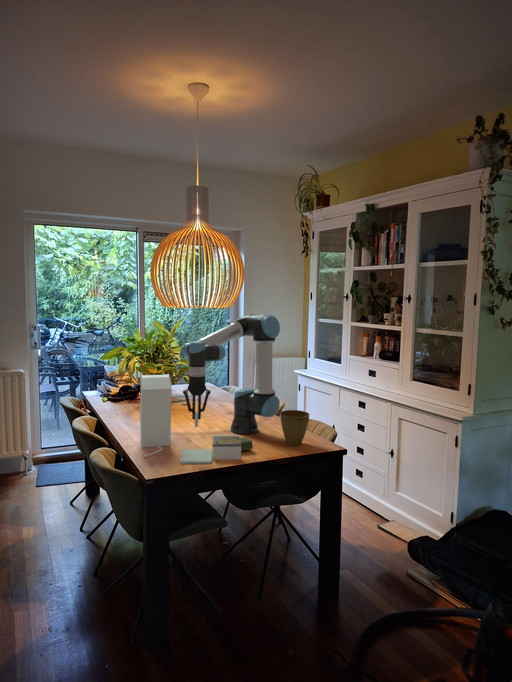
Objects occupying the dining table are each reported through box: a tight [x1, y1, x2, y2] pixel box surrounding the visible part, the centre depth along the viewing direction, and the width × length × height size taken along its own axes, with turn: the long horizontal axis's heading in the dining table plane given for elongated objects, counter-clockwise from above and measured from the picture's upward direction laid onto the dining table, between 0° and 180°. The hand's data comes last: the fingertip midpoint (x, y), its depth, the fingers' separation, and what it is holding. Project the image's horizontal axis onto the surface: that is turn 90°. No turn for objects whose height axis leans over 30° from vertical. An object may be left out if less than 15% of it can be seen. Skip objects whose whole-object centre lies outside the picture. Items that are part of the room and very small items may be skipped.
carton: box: [216, 437, 254, 452], centre depth 241 cm, size 8×16×4 cm, turn 117°
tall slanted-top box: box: [139, 373, 172, 458], centre depth 244 cm, size 14×35×35 cm, turn 16°
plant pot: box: [279, 409, 310, 447], centre depth 254 cm, size 15×15×16 cm
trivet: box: [179, 448, 213, 465], centre depth 231 cm, size 18×14×1 cm
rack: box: [212, 434, 242, 461], centre depth 238 cm, size 19×13×7 cm
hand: (196, 426), depth 229 cm, fingers closed
